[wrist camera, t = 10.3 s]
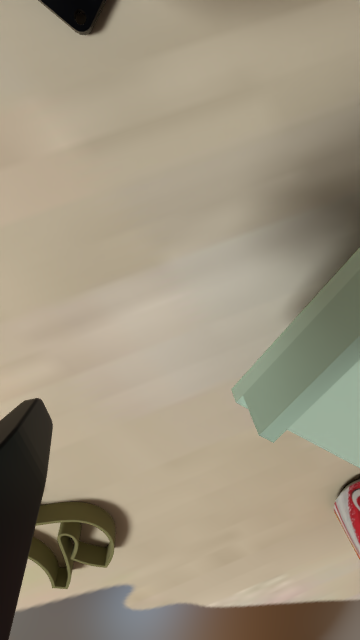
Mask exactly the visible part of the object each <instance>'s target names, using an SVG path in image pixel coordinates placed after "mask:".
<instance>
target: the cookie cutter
mask: <svg viewBox="0 0 360 640" xmlns="http://www.w3.org/2000/svg"><path fill="white" fill-rule="evenodd" d="M59 522H61V524H60V529H59V533H58V537H57V540H58V544H59V546H60V549H61V551H62V554H63V556H64V559H65V562H66V566H67V568H59V566H58V562H57V559H56V557H55V555H54V554H53V552H52V551H51V550H50V549H49V548H48V547H47V546H46V545H45V544H44V543H43V542H41V541H40V540H38V539H37V538H35V537H33V538H32V542H31V547H30V551H29V555H28V559H30V560H32V561H34V562H35V563H36V564H38V565H39V566H40V567H41V568H42V569H43V570H44V571H45V572H46V574H47V575H48V577H49V579H50V581H51V584H52V588H60V589H68V587H69V584H70V580H71V574H72V569H73V563H74V561H76V562H79V563H82V564H86V565H91V566H96V567H105V568H107V566H108V565H109V563H110V562H111V560H112V557H113V554H114V544H115V531H116V530H115V523H114V521H113V519H112V517H111V516H110V515H109V514H108V513H107V512H106V511H105V510H104V509H102V508H100V507H98V506H96V505H93V504H89V503H84V502H61V503H52V504H45V505H40V509H39V513H38V517H37V521H36V526H37V525H44V524H51V523H59ZM81 523H86V524H89V525H92V526H95V527H97V528H99V529H100V530H101V531H103V532H104V533H105V534H106V535H107V537H108V538H109V540H110V543H109V545H108V546H107V547H100V546H95V545H90V544H87V543H84V542H81V541H79V539H80V533H81ZM70 537H71V538H72V539H73V540H74V543H73V546H72V542H71V539H70Z"/></svg>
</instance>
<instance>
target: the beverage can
mask: <svg viewBox="0 0 360 640" xmlns="http://www.w3.org/2000/svg"><path fill="white" fill-rule="evenodd" d="M334 511H335V514H336V516H337V518H338V520H339V521H340V523H341V525H342V527H343V529H344V531H345V533H346V535H347V536H348V538H349V540H350V542H351V544H352V546H353V548H354V550H355V552H356V553H357V555H358V557H359V559H360V479H359V480H356V481H354V482H352V483H350V484H349V485H347V486H346V487H345V488H344V489H343V490H342V492H341V493H340V495H339V496H338V498H337V499H336V501H335V504H334Z"/></svg>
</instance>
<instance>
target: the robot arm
mask: <svg viewBox="0 0 360 640" xmlns="http://www.w3.org/2000/svg"><path fill="white" fill-rule="evenodd" d="M38 1H40V2H41V3H42V4H43V5H44V6H46V7H47V8H48V9H49V10H50V11H52V12H53V13H54V14H55V15H56V16H58V17H59V18H60V19H61V20H62V21H64V22H65V23H66V24H67V25H68V26H70V27H71V28H72V29H73V30H74V31H75V32H77V33H79V34H80V35H86V34H88V33H90V32H91V30H92V29H93V27H94V24H95V22H96V20H97V18H98V16H99V14H100V12H101V10H102V8H103V5H104V3H105V1H106V0H38ZM78 13H84V14H85V15H86V22H85V23H84V24H82V25H80V24H78V23H77V22H76V16H77V14H78ZM52 429H53V424H52V420H51V418H50V416H49V413H48V411H47V409H46V407H45V405H44V403H43V401H42V400H41V399H39V398H35V399H30V400H25V401H23V402H22V403H21V404H20V405H18V406H17V407H16V408H15V409H14V410H12V411H11V412H10V413H9V414H8V415H6V416H5V417H4V418H3V419H2V420H1V421H0V640H8V639H9V635H10V631H11V627H12V623H13V618H14V614H15V610H16V606H17V601H18V597H19V593H20V589H21V585H22V580H23V576H24V572H25V568H26V564H27V559H28V555H29V551H30V547H31V542H32V538H33V534H34V530H35V526H36V521H37V517H38V513H39V509H40V504H41V500H42V496H43V492H44V487H45V483H46V477H47V470H48V462H49V454H50V446H51V438H52Z"/></svg>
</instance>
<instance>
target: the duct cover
mask: <svg viewBox="0 0 360 640" xmlns="http://www.w3.org/2000/svg"><path fill="white" fill-rule="evenodd" d="M231 390H232V393H233V396H234V398H235V401H236V403H238V404H240V405H242V406H243V407H245V408H247V409H249V412H250V414H251V417H252V419H253V422H254V424H255V427H256V429H257V432H258V434H259V436H261V437H263V438H265V439H267V440H269V441H271V442H273V443H274V442H275V441H276V440H277V439H278V438H279V437H280V436H281V435H282V434H283V433H284V432H285V431H286V430H289V431H291V432H293V433H294V434H296V435H298V436H300V437H302V438H304V439H306V440H308V441H309V442H311V443H313V444H315V445H317V446H319V447H321V448H323V449H325V450H326V451H328V452H330V453H332V454H334V455H336V456H338V457H340V458H342V459H343V460H345V461H347V462H349V463H351V464H353V465H355V466H357V467H359V468H360V247H359V248H358V250H357V251H356V252H355V253H354V254H353V255H352V256H351V257H350V258H349V260H348V261H347V262H346V263H345V264H344V265H343V266H342V267H341V268H340V269H339V271H338V272H337V273H336V274H335V275H334V276H333V277H332V278H331V279H330V281H329V282H328V283H327V284H326V285H325V286H324V287H323V288H322V289H321V291H320V292H319V293H318V294H317V295H316V296H315V297H314V298H313V299H312V300H311V302H310V303H309V304H308V305H307V306H306V307H305V308H304V309H303V310H302V312H301V313H300V314H299V315H298V316H297V317H296V318H295V319H294V320H293V322H292V323H291V324H290V325H289V326H288V327H287V328H286V329H285V330H284V332H283V333H282V334H281V335H280V336H279V337H278V338H277V339H276V340H275V341H274V343H273V344H272V345H271V346H270V347H269V348H268V349H267V350H266V351H265V353H264V354H263V355H262V356H261V357H260V358H259V359H258V360H257V361H256V363H255V364H254V365H253V366H252V367H251V368H250V369H249V370H248V371H247V372H246V374H245V375H244V376H243V377H242V378H241V379H240V380H239V381H238V382H237V384H236V385H235V386H234V387H233V388H232V389H231Z"/></svg>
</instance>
